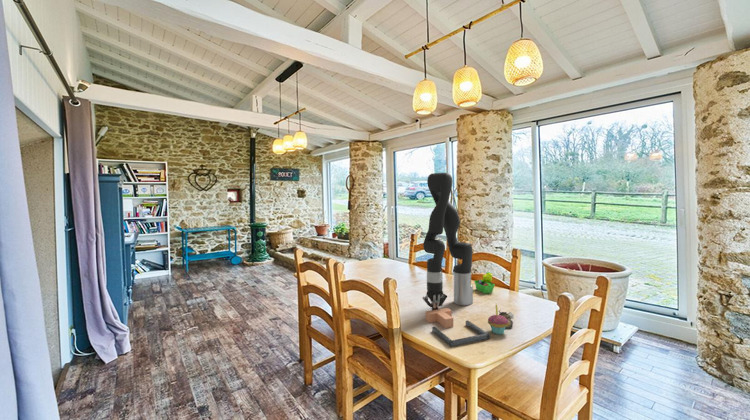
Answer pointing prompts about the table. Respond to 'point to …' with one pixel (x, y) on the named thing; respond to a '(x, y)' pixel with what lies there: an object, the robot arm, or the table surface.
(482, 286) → the fruit basket
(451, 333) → the table surface
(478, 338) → the rail bay
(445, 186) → the robot arm
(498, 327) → the cupcake
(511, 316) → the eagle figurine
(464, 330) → the table surface
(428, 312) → the T-block
